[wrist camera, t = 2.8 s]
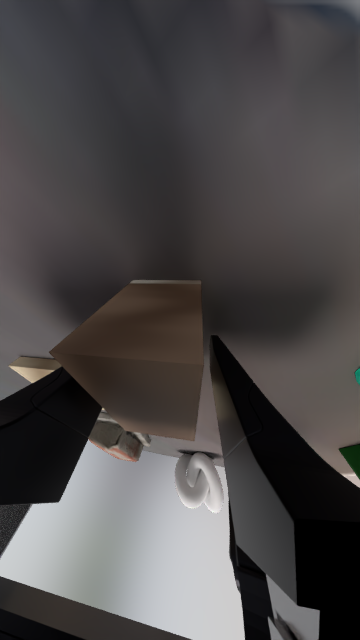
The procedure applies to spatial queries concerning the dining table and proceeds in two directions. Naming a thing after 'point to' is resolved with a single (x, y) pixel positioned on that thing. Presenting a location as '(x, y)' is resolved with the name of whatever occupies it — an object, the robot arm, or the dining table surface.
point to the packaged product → (117, 439)
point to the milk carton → (352, 457)
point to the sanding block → (143, 357)
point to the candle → (358, 376)
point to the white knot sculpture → (198, 482)
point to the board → (35, 367)
